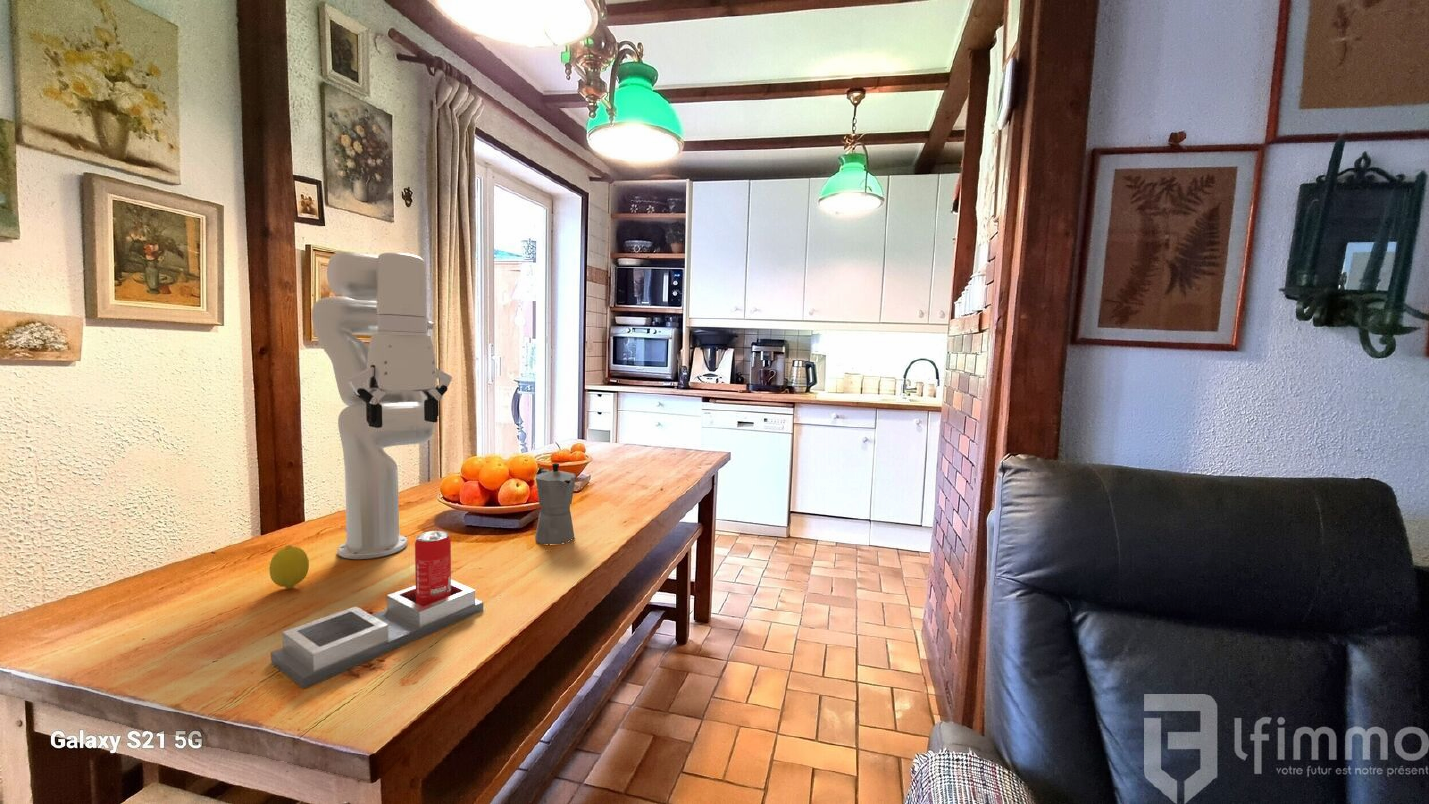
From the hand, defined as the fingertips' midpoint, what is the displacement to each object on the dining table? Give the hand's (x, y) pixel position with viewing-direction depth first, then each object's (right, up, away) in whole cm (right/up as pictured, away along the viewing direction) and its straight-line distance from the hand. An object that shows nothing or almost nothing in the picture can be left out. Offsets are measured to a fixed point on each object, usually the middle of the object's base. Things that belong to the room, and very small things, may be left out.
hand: (404, 424), depth 95 cm
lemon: (-21, -30, +1) cm, 36 cm away
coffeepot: (+17, -28, +32) cm, 46 cm away
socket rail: (+5, -32, -12) cm, 34 cm away
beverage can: (+8, -30, -6) cm, 32 cm away
